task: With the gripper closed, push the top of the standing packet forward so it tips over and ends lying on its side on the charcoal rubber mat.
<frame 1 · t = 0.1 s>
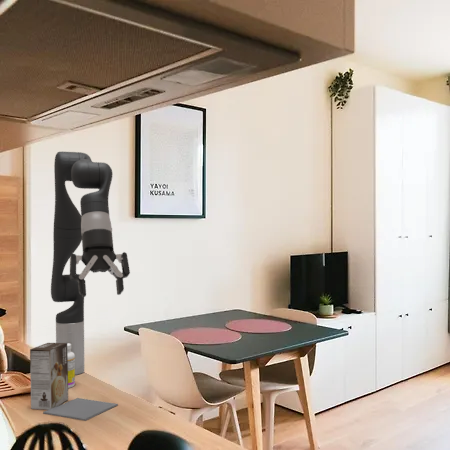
hand: (101, 295, 128), 31 cm above the worktop, tool tilted 20°, fingers open, 8 cm apart
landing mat: (81, 409, 140), on the worktop
supplement bottle: (63, 387, 162), on the worktop
coffee box: (49, 405, 144), on the worktop
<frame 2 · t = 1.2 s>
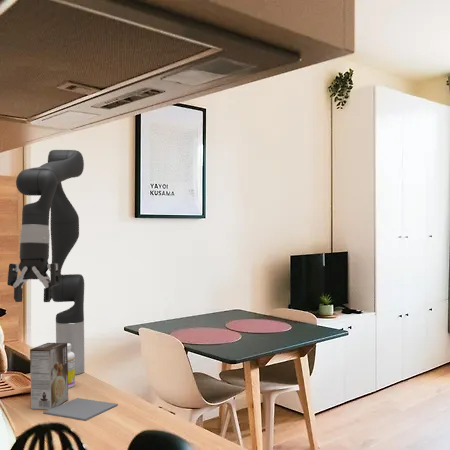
hand: (32, 302, 142), 28 cm above the worktop, tool pointing down, fingers open, 8 cm apart
nothing on the worktop moved.
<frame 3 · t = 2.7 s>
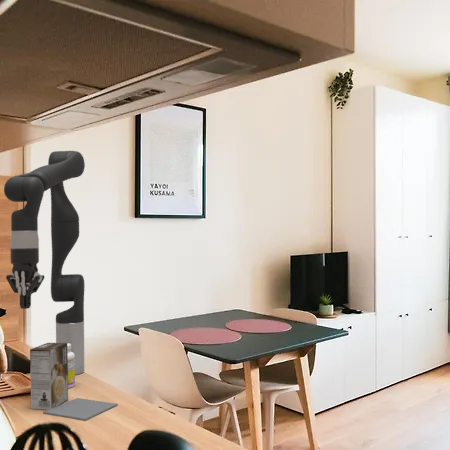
hand: (25, 308, 149), 26 cm above the worktop, tool pointing down, fingers closed
nothing on the worktop moved.
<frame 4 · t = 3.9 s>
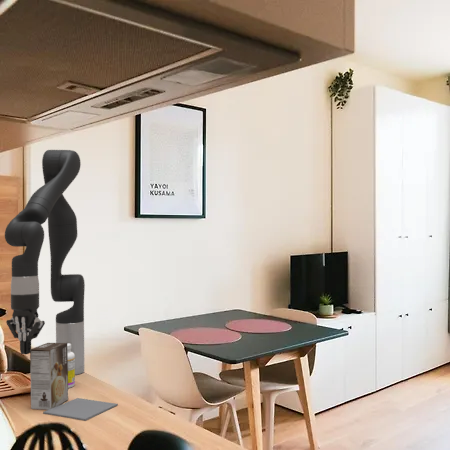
hand: (25, 353, 149), 13 cm above the worktop, tool pointing down, fingers closed
nothing on the worktop moved.
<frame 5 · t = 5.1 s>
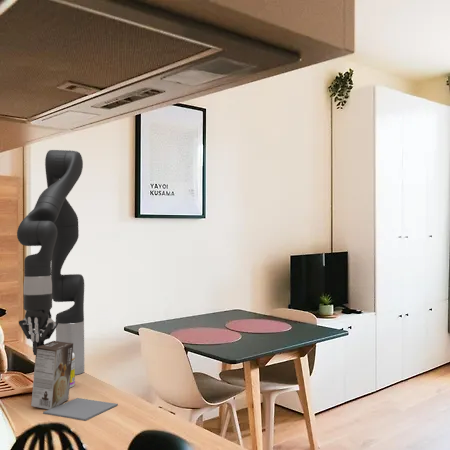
hand: (38, 354, 146), 13 cm above the worktop, tool pointing down, fingers closed
coffee box: (49, 403, 144), on the worktop, touching gripper
everything else where it was.
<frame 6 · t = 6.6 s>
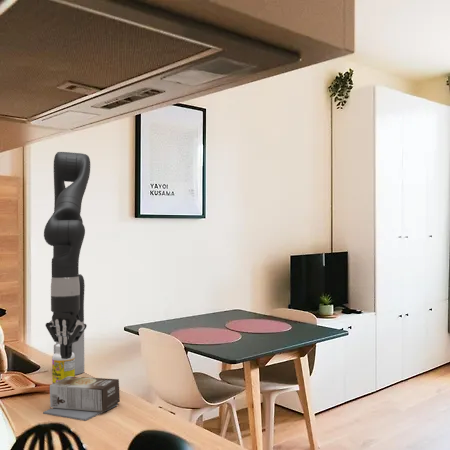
hand: (66, 358, 142), 13 cm above the worktop, tool pointing down, fingers closed
coffee box: (58, 391, 144), point 4 cm above the worktop, touching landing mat
everything else where it was.
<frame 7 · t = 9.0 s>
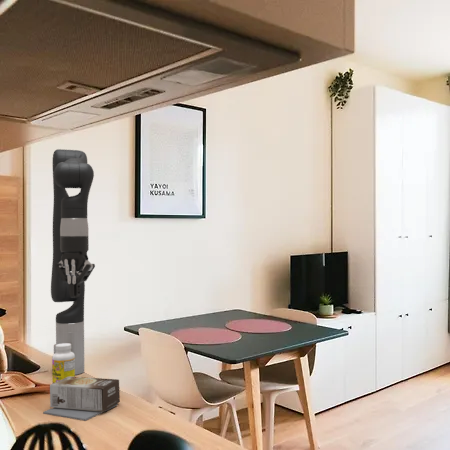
hand: (74, 297, 146), 29 cm above the worktop, tool pointing down, fingers closed
nothing on the worktop moved.
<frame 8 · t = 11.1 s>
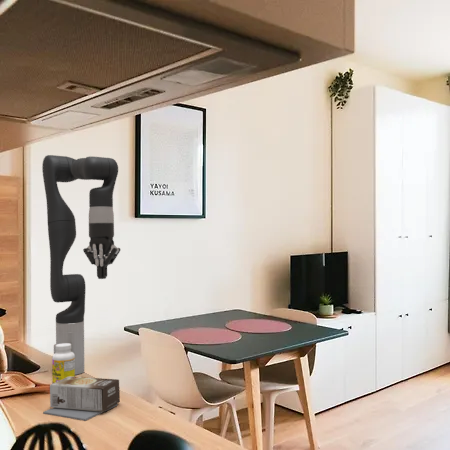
hand: (102, 278, 161), 33 cm above the worktop, tool pointing down, fingers closed
nothing on the worktop moved.
at the end: coffee box tilted 90°; coffee box inside the target area (4.6 cm from its centre), point 3.6 cm above the worktop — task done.
